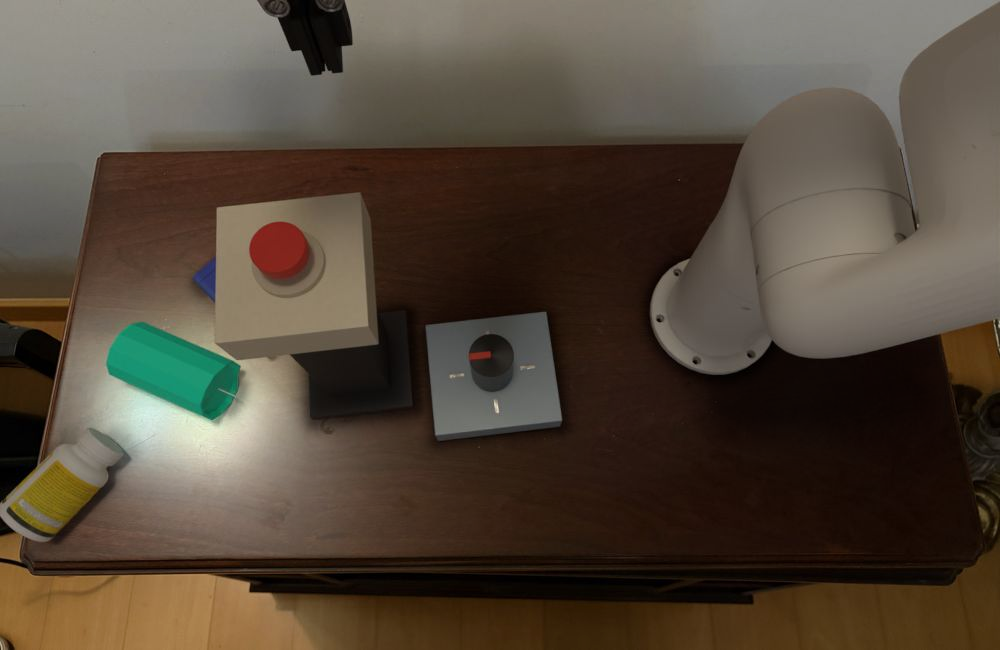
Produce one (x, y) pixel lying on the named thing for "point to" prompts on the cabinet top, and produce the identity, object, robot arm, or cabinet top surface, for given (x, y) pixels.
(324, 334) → the switch tower
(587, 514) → the cabinet top surface
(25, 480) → the supplement bottle
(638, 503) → the cabinet top surface
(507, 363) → the dial
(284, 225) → the power button
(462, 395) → the dial panel
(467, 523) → the cabinet top surface
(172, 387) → the candle
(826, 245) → the robot arm
